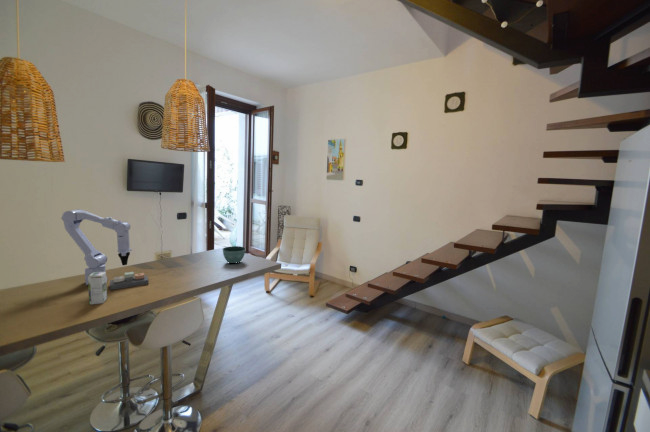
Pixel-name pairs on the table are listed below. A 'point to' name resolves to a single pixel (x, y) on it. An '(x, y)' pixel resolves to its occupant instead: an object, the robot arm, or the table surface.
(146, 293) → the table surface
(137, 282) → the keypad plate
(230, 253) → the flower pot
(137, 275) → the terracotta key
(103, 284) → the syrup box
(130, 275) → the sage key
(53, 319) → the table surface
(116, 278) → the ivory key
